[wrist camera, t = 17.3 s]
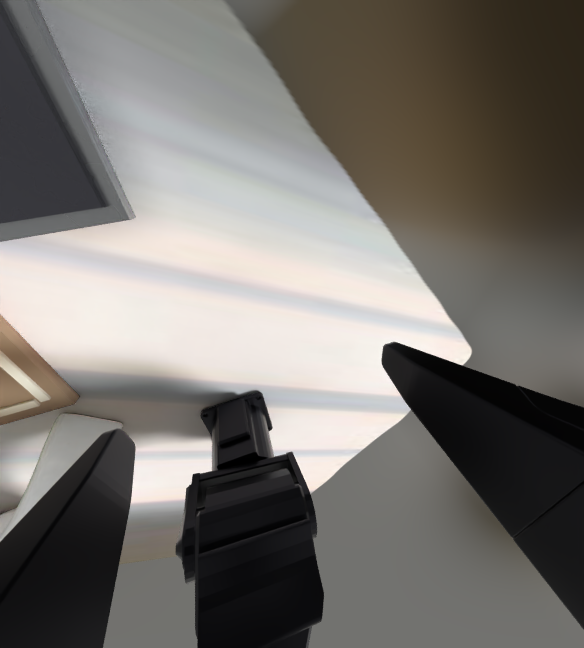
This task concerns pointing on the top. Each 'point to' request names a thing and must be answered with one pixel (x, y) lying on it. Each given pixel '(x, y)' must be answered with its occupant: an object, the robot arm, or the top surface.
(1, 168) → the pad
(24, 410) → the brown flat square
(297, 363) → the top surface
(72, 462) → the spoon rest
